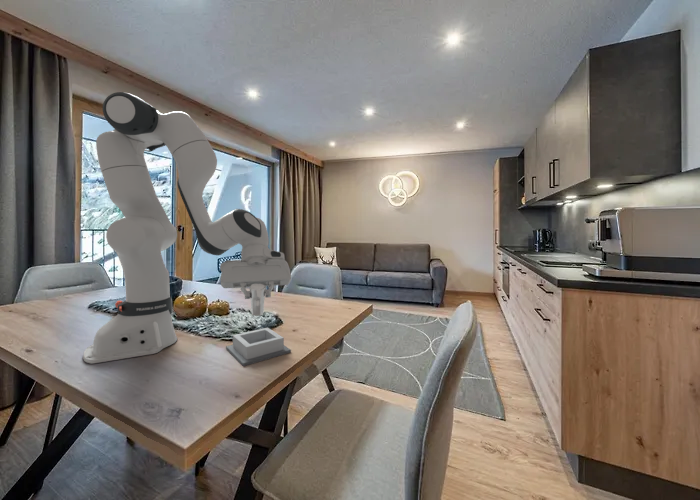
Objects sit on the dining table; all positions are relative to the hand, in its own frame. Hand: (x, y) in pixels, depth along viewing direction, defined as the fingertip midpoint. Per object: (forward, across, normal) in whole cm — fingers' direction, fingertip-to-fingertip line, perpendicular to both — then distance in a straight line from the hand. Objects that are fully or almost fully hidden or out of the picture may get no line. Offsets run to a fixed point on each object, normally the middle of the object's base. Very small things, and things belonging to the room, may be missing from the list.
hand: (257, 297), depth 85 cm
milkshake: (+4, 0, +4) cm, 6 cm away
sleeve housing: (+11, 0, +12) cm, 16 cm away
